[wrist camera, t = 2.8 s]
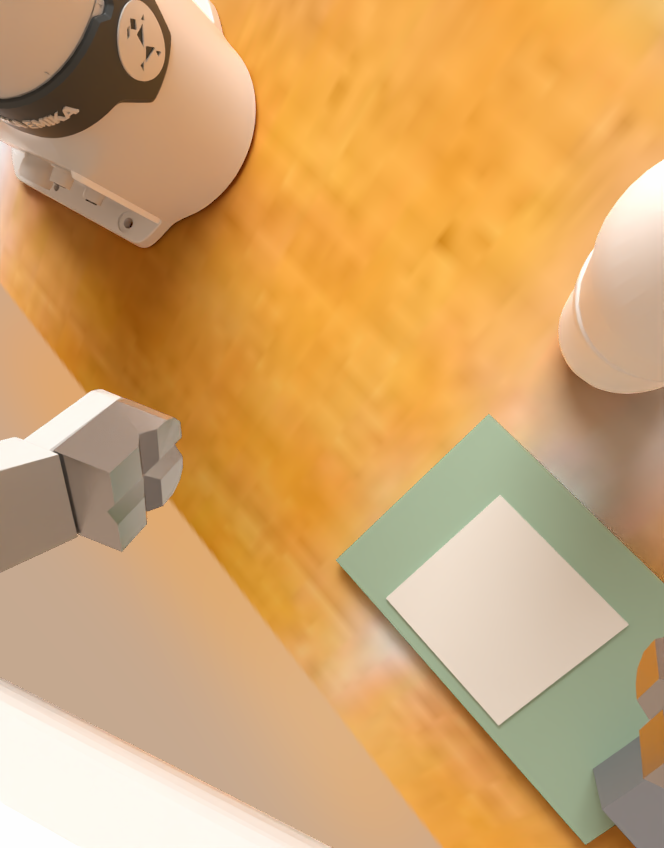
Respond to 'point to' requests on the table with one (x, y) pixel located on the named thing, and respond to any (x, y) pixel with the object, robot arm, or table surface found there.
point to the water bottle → (621, 296)
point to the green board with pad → (526, 623)
